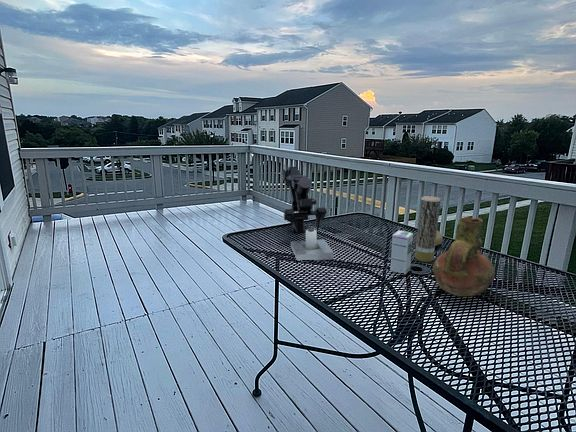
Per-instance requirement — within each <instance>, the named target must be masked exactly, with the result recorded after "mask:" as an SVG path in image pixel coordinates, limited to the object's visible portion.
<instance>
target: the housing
mask: <svg viewBox="0 0 576 432" xmlns="http://www.w3.org/2000/svg"><path fill="white" fill-rule="evenodd" d="M291 249H292V250H291ZM290 250H291V252H292V251H293V252H292V254H293V253H294V254H293V256H294V255H295V257H294V259H295V258H296V259H295V261H296V260H298V261H300V260H301V262H303V261H302V260H314V261H325V260H334V251H333V250H332V248H331V247H330V246H329V244H328V243H327V241H326V240H325V239H324V238H323V239H321V238H320V239H317V242H316V250H306V239H305V240H294V241H293V240H292V241H290Z"/></svg>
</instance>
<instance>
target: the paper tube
mask: <svg viewBox="0 0 576 432" xmlns="http://www.w3.org/2000/svg"><path fill="white" fill-rule="evenodd" d="M441 200H442V199H441V197H438V196H431V195H430V196H429V195H424V196H421V198H420V204H419V205H420V207H419V217H418V223H417V232H416V235H417V242H416V241H415V244H416V245H415V253H414V258H415V259H416V260H418V261H420V262H424V263H430V262H432V261H433V260H434V255H435V249H436V246H435V241H436V233H437V231H438V226H439V225H438V224H439V215H440V210H441V209H440V208H441V202H442V201H441Z"/></svg>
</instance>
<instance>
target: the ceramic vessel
mask: <svg viewBox="0 0 576 432" xmlns="http://www.w3.org/2000/svg"><path fill="white" fill-rule="evenodd" d="M483 222H484V221H483V219H482V218H480V217H468V216H467V217H466V216H465V217H464V216H463V218H462V217H460V218H459V219H458V222H457V225H456V229H455V230H456V231H455V237H454V241H453V242H452V243H451V244H450V246H449V248H448V250H447V251H445V252H442V254H440V255H439V256H437V258H436V259H435V261H434V262H433V264H432V272H433V273H434V277H435V281H436V283H437V285H438V286H439V288H440V289H441V290H442V291H445V292H446V293H448V294H451V295H453V296H458V297H472V296H474V297H475V296H478V295H480V294H482V293H484V292H485V291H486V290H487V289H488V288H489V287H490V285H491V283H493V281H494V279H495V275H496V272H495V271H496V270H495V267H494V264H493V262H492V261H491V260H490V258H488V257H487V256H486V255H483V254H482V252H481V249H482V245H483V241H482V238H481V235H482V231H483V230H482V228H483V224H484V223H483Z"/></svg>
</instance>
